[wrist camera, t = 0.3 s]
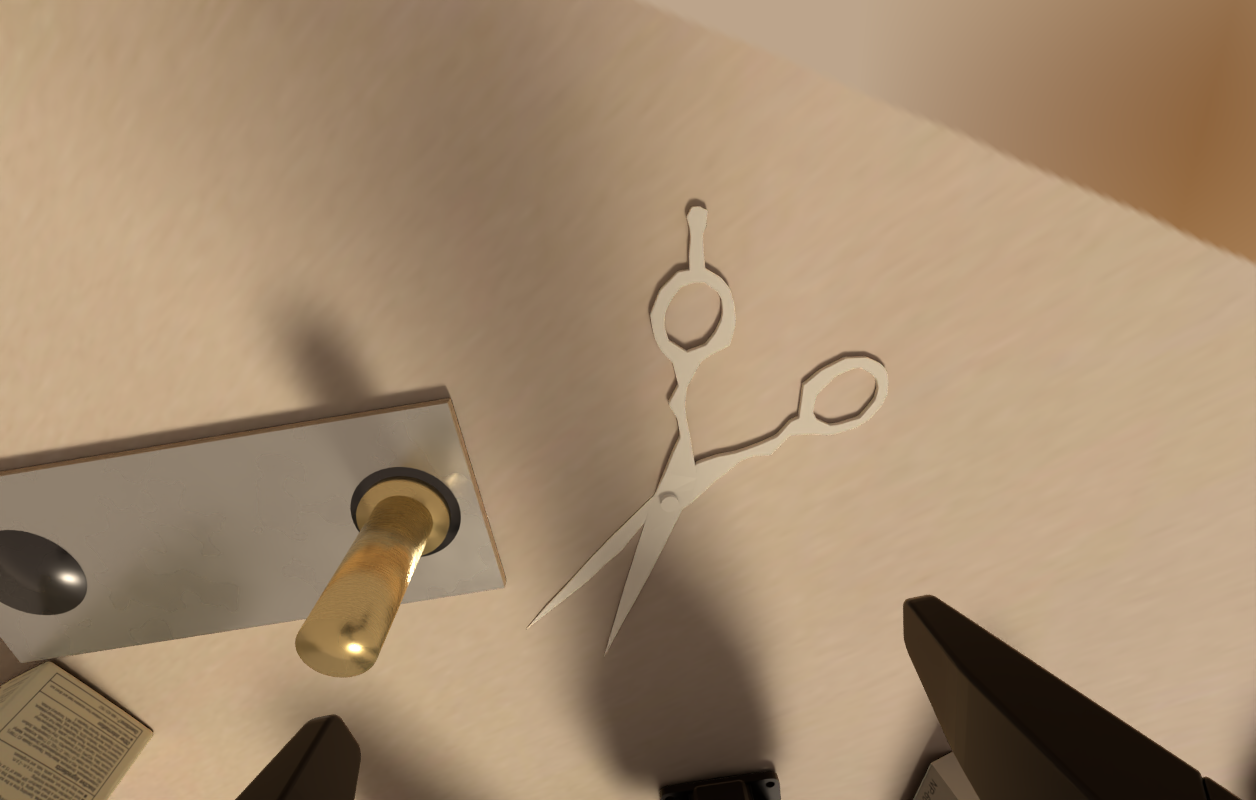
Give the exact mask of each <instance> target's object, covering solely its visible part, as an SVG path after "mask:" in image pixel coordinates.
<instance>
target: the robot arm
mask: <svg viewBox="0 0 1256 800" xmlns="http://www.w3.org/2000/svg"><path fill="white" fill-rule="evenodd" d="M903 627H904V641H905V645H906V648H907V651H908V654H909V656H910V658H911V660H912V663H913V665H914V667H915V669H916V672H917V674H918V676H919V678H920V680H921V683H922V685H923V687H924V689H925V692H926V694H927V696H928V698H929V700H930V703H931V705H932V707H933V709H934V712H935V714H936V716H937V718H938V720H939V723H940V725H941V727H942V729H943V731H944V734H945V736H946V738H947V740H948V742H949V744H950V747H951V749H952V751H953V753H954V755H955V757H956V759H957V760H958V762H959V764H960V766H961V768H962V770H963V772H964V773H965V775H966V777H967V779H968V780H969V782H970V784H971V785H972V787H973V789H974V791H975V792H976V794H977V796H978V798H979V799H980V800H1242V799H1240V798H1239V797H1237V796H1236V795H1234V794H1233V793H1231V792H1230V791H1228V790H1227V789H1225V788H1224V787H1222V786H1221V785H1219V784H1218V783H1216V782H1215V781H1213V780H1212V779H1210V778H1208V777H1203V778H1202V776H1201V774H1200V772H1199V771H1198V770H1196V769H1195V768H1193V767H1192V766H1190V765H1189V764H1187V763H1186V762H1184V761H1183V760H1181V759H1180V758H1178V757H1177V756H1175V755H1174V754H1172V753H1171V752H1169V751H1168V750H1166V749H1165V748H1163V747H1162V746H1160V745H1159V744H1157V743H1156V742H1154V741H1152V740H1151V739H1149V738H1148V737H1146V736H1145V735H1143V734H1142V733H1140V732H1139V731H1137V730H1136V729H1134V728H1133V727H1131V726H1130V725H1128V724H1127V723H1125V722H1124V721H1122V720H1121V719H1119V718H1118V717H1116V716H1115V715H1113V714H1112V713H1110V712H1109V711H1107V710H1106V709H1104V708H1103V707H1101V706H1100V705H1098V704H1097V703H1095V702H1094V701H1092V700H1091V699H1089V698H1088V697H1086V696H1085V695H1083V694H1082V693H1080V692H1079V691H1077V690H1076V689H1074V688H1073V687H1071V686H1070V685H1068V684H1067V683H1065V682H1064V681H1062V680H1061V679H1059V678H1058V677H1056V676H1054V675H1053V674H1051V673H1050V672H1048V671H1047V670H1045V669H1044V668H1042V667H1041V666H1039V665H1038V664H1036V663H1035V662H1033V661H1032V660H1030V659H1029V658H1027V657H1026V656H1024V655H1023V654H1021V653H1020V652H1018V651H1017V650H1015V649H1014V648H1012V647H1011V646H1009V645H1008V644H1006V643H1005V642H1003V641H1002V640H1000V639H999V638H997V637H996V636H994V635H993V634H991V633H990V632H988V631H987V630H985V629H984V628H982V627H981V626H979V625H978V624H976V623H975V622H973V621H972V620H970V619H969V618H967V617H966V616H964V615H963V614H961V613H960V612H958V611H956V610H955V609H953V608H952V607H950V606H949V605H947V604H946V603H944V602H943V601H941V600H940V599H938V598H937V597H935V596H932V595H924V596H919V597H914V598H909V599H906V600H905V601H904V604H903ZM360 761H361V753H360V748H359V745H358V743H357V741H356V740H355V738H354V737H353V735H352V734H351V732H350V731H349V729H348V728H347V726H346V725H345V723H344V722H343V720H342V719H341V718H340V717H339V716H337V715H328V716H323V717H318V718H314V719H312V720H310V721H308V722H307V723H306V724H305V725H304V726H303V727H302V728H301V729H300V730H299V731H298V732H297V733H296V734H295V736H294V737H293V738H292V739H291V740H290V741H289V742H288V743H287V744H286V745H285V746H284V747H283V749H282V750H281V751H280V752H279V753H278V754H277V755H276V756H275V757H274V758H273V759H272V760H271V762H270V763H269V764H268V765H267V766H266V767H265V768H264V769H263V770H262V771H261V772H260V773H259V775H258V776H257V777H256V778H255V779H254V780H253V781H252V782H251V783H250V784H249V785H248V786H247V788H246V789H245V790H244V791H243V792H242V793H241V794H240V795H239V796H238V797H237V798H236V799H235V800H354V797H355V791H356V785H357V779H358V774H359V768H360ZM660 800H781V796H780V784H779V780H778V776H777V774H776V773H775V772H772V771H766V772H760V773H753V774H746V775H739V776H732V777H726V778H719V779H712V780H705V781H698V782H692V783H685V784H678V785H671V786H666V787H663V788H662V789H661V790H660Z"/></svg>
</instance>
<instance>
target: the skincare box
mask: <svg viewBox="0 0 1256 800" xmlns="http://www.w3.org/2000/svg"><path fill="white" fill-rule="evenodd" d="M152 736H153V732H152V731H151V730H150V729H148V728H147V727H145V726H144V725H143V724H141V723H140V722H139V721H137V720H136V719H134V718H133V717H132V716H130V715H129V714H127V713H126V712H124V711H123V710H122V709H120V708H119V707H117V706H116V705H114V704H113V703H111V702H110V701H108V700H107V699H106V698H104V697H103V696H101V695H100V694H98V693H97V692H96V691H94V690H93V689H91V688H90V687H88V686H87V685H86V684H84V683H82V682H81V681H79V680H78V679H77V678H75V677H74V676H72V675H71V674H69V673H67V672H66V671H64V670H63V669H61V668H60V667H58V666H57V665H55V664H54V663H52V662H50V661H47V662H45V663H43V664H41V665H39V666H37V667H35V668H33V669H31V670H29V671H27V672H25V673H23V674H21V675H19V676H18V677H16V678H14V679H12V680H10V681H8V682H6V683H5V684H3V685H1V686H0V800H108V798H109V797H110V796H111V794H112V793H113V791H114V790H115V789H116V787H117V786H118V784H119V783H120V781H121V780H122V779H123V777H124V776H125V774H126V773H127V771H128V770H129V769H130V767H131V766H132V764H133V763H134V762H135V760H136V759H137V757H138V756H139V755H140V753H141V752H142V750H143V749H144V748H145V746H146V745H147V743H148V742H149V741H150V739H151V738H152Z"/></svg>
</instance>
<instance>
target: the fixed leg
mask: <svg viewBox="0 0 1256 800" xmlns="http://www.w3.org/2000/svg"><path fill="white" fill-rule="evenodd" d="M356 520H357V524H358V527H359V530H360V532H359V534H358V535H357V537H356V539H355V540H354V542H353V544H352V545H351V547H350V549H349V550H348V552H347V553H346V555H345V557H344V558H343V560H342V562H341V563H340V565H339V567H338V568H337V570H336V572H335V573H334V575H333V576H332V578H331V580H330V581H329V583H328V585H327V586H326V588H325V590H324V591H323V593H322V594H321V596H320V598H319V599H318V601H317V603H316V604H315V606H314V608H313V609H312V611H311V612H310V614H309V616H308V617H307V619H306V621H305V622H304V624H303V626H302V627H301V629H300V631H299V632H298V634H297V637H296V641H295V646H296V650H297V653H298V655H299V656H300V658H301V659H302V661H303V662H304V663H305V664H306V665H308V666H309V667H310V668H312V669H313V670H315V671H317V672H319V673H322V674H325V675H328V676H333V677H352V676H357V675H360V674H362V673H364V672H366V671H367V670H369V669H370V668H371V667H372V666H373V665H374V663H375V662H376V660H377V657H378V655H379V653H380V650H381V648H382V646H383V643H384V641H385V639H386V636H387V634H388V632H389V629H390V627H391V625H392V622H393V620H394V618H395V615H396V613H397V611H398V608H399V606H400V604H401V601H402V599H403V597H404V594H405V592H406V590H407V587H408V585H409V583H410V580H411V578H412V576H413V573H414V571H415V569H416V566H417V564H418V562H419V559H420V557H421V556H422V555H425V554H427V553H429V552H431V551H433V550H435V549H436V548H437V547H438V546H439V545H440V544H441V543H442V542H443V540H444V539H445V537H446V534H447V532H448V529H449V527H450V523H451V512H450V508H449V505H448V503H447V501H446V499H445V498H444V497H443V495H442V494H441V493H440V492H439V491H438V490H437V489H436V488H434V487H433V486H432V485H430V484H428V483H427V482H425V481H422V480H420V479H417V478H413V477H407V476H394V477H389V478H385V479H382V480H380V481H378V482H376V483H375V484H373V485H372V486H371V487H370V488H369V489H368V490H367V491H366V493H365V494H364V496H363V497H362V499H361V500H360V502H359V504H358V507H357V511H356Z"/></svg>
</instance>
